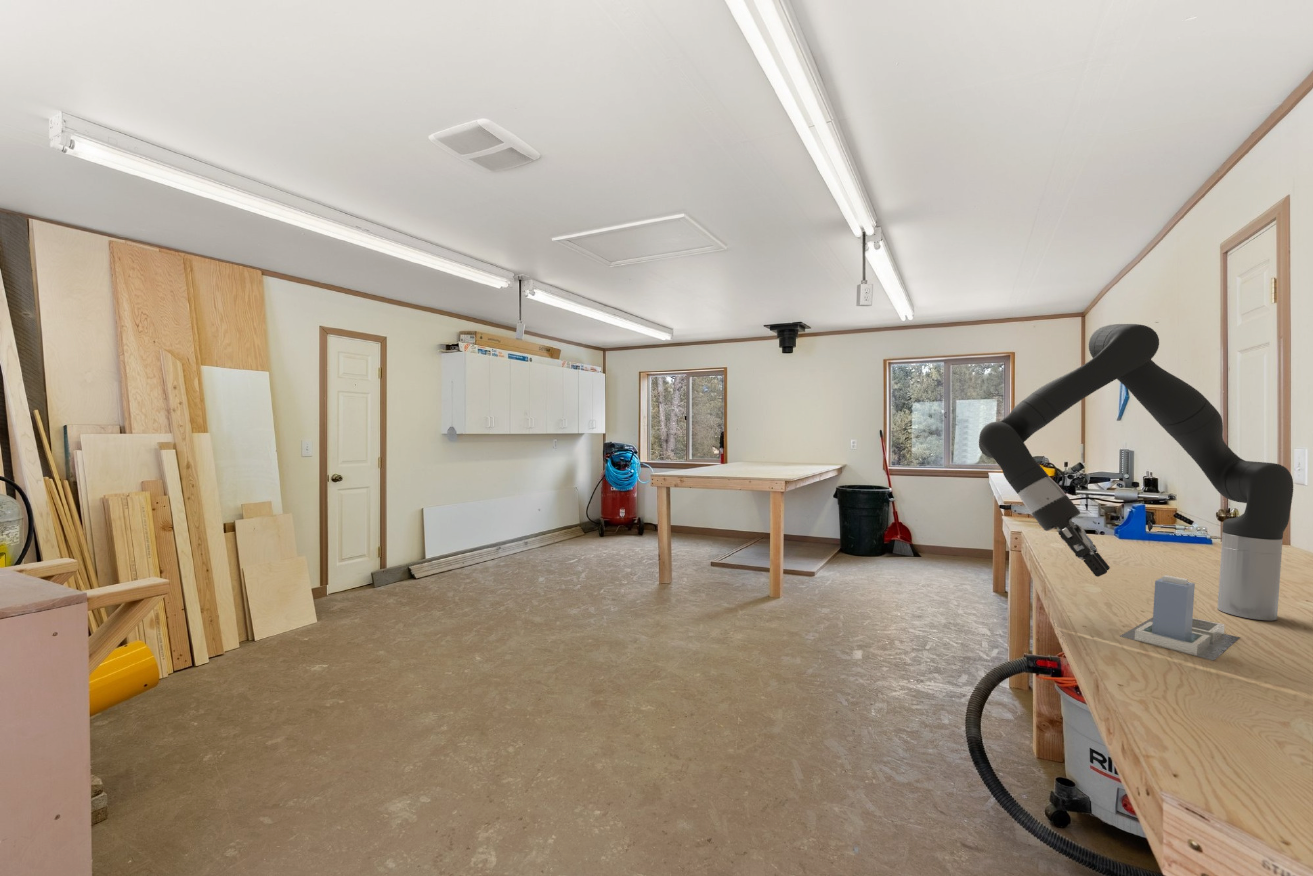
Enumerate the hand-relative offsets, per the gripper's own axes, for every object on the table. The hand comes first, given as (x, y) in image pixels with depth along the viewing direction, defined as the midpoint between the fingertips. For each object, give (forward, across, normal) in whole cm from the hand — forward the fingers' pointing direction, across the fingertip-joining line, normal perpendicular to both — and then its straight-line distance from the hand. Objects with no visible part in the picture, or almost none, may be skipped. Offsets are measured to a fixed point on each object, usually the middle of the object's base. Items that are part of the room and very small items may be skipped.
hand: (1104, 572), depth 117 cm
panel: (+15, +2, -3) cm, 16 cm away
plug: (+14, -4, -2) cm, 15 cm away
